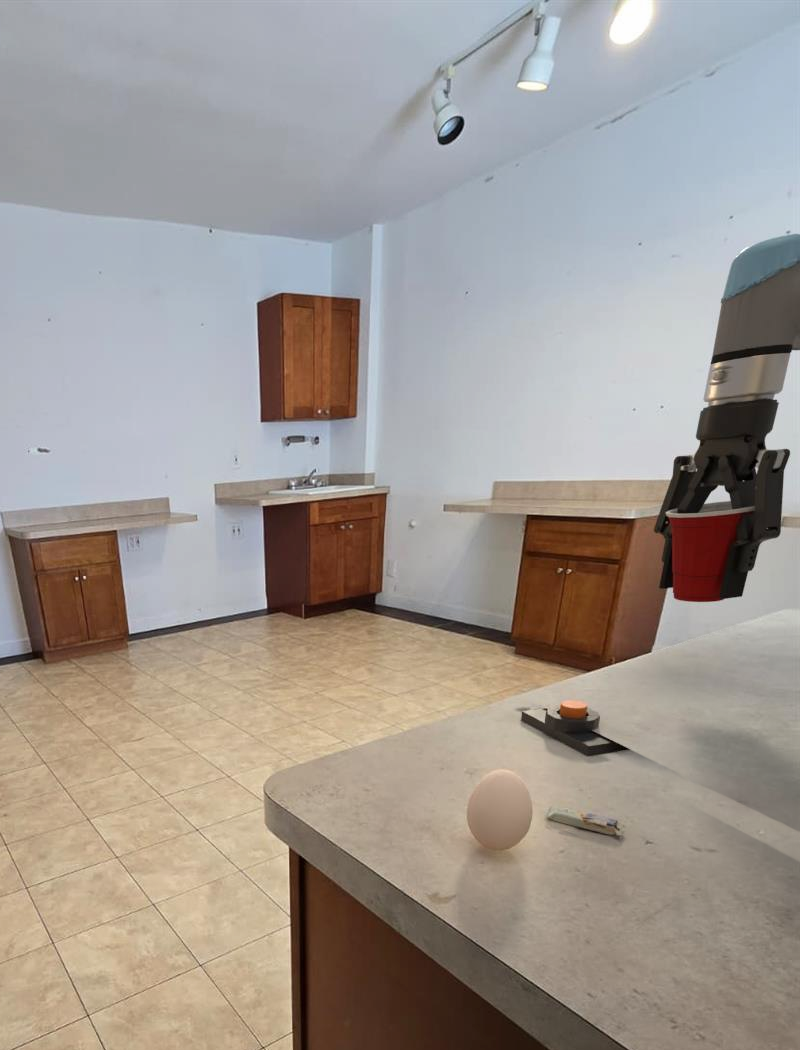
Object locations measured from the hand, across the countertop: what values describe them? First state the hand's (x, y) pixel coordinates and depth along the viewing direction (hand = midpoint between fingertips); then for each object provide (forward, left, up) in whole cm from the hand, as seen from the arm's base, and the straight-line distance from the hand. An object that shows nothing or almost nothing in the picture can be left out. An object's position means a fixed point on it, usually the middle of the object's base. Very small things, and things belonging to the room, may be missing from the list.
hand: (698, 591), depth 86 cm
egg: (+46, +29, -15) cm, 57 cm away
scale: (+16, +8, -15) cm, 23 cm away
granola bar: (+36, +28, -15) cm, 48 cm away
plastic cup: (0, 0, -1) cm, 1 cm away
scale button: (+23, +8, -12) cm, 27 cm away
